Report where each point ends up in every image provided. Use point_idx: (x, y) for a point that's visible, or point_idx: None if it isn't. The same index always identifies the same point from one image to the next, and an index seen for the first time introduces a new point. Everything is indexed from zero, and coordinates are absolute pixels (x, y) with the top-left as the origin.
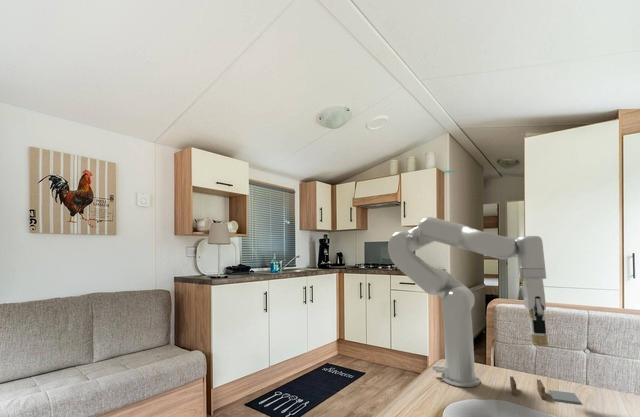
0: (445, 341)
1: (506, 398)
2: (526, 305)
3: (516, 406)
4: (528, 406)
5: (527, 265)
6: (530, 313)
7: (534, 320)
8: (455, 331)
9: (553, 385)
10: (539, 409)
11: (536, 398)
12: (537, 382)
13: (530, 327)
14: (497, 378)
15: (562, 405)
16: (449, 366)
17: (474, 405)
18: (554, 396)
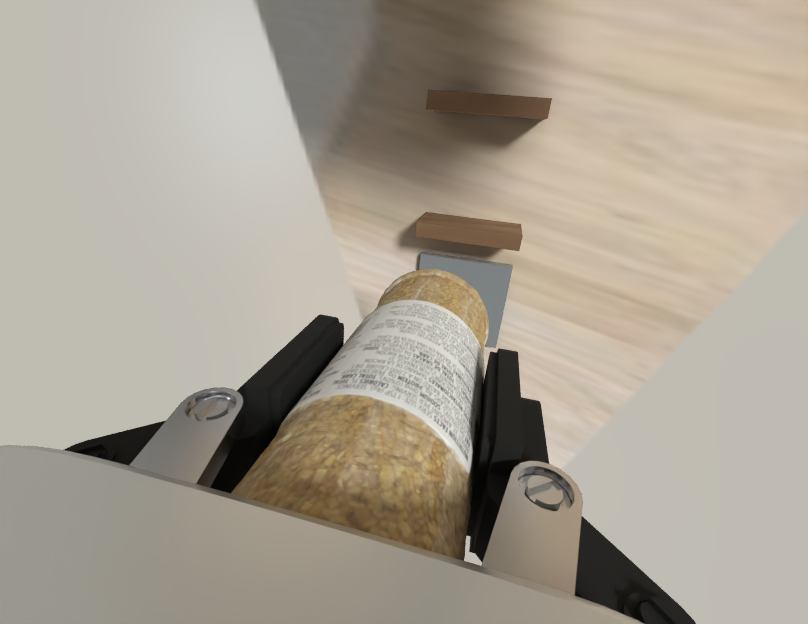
0: None
1: (396, 51)
2: (108, 559)
3: (325, 83)
4: (341, 136)
5: None
6: (285, 452)
7: (248, 395)
8: None
9: (594, 312)
10: (327, 172)
11: (430, 192)
12: (505, 231)
13: (400, 325)
14: (691, 44)
15: (388, 266)
16: None
17: None
18: (443, 265)
